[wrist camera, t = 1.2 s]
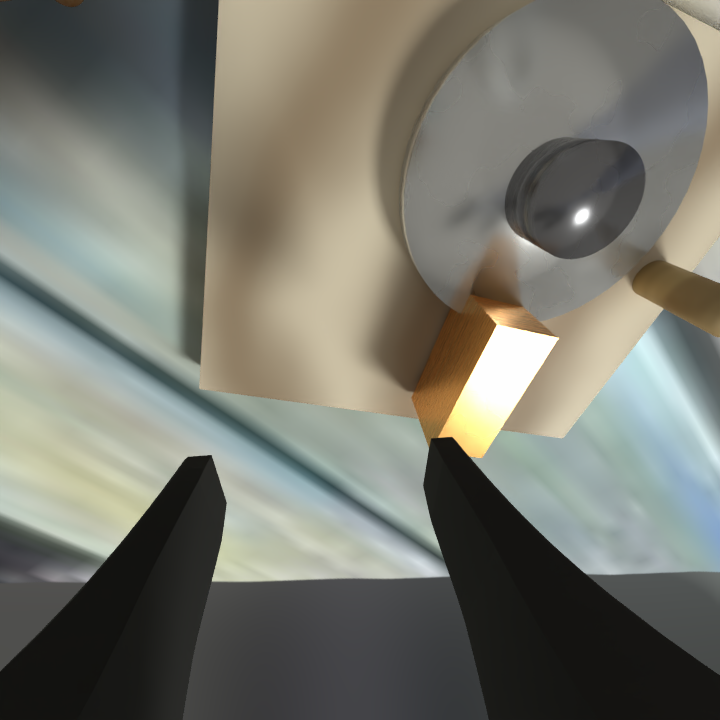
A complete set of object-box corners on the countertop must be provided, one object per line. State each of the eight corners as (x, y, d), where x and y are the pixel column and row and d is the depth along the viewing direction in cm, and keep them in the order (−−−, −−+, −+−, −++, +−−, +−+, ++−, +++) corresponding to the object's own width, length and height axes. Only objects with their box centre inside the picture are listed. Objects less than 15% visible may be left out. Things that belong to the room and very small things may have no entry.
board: (786, 92, 14) (1007, 80, 9) (549, 420, 22) (606, 494, 18) (241, -176, 9) (175, -451, 5) (207, 370, 18) (173, 452, 13)
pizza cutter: (471, -74, 9) (543, -160, 6) (747, 65, 12) (893, 48, 9) (335, 386, 17) (340, 441, 14) (519, 413, 19) (556, 466, 16)
